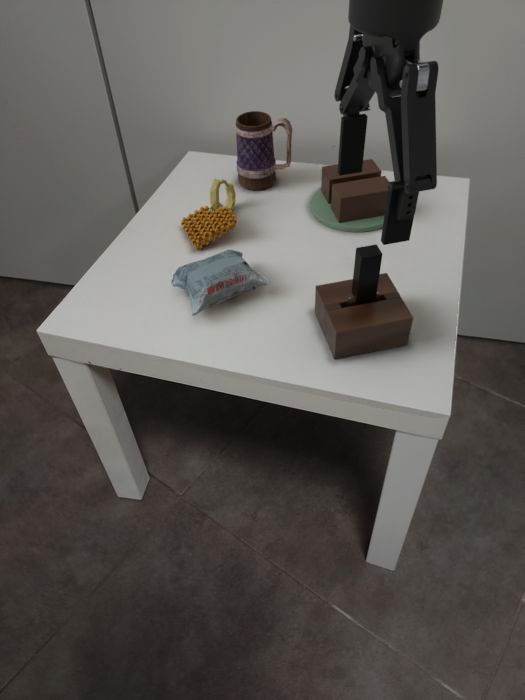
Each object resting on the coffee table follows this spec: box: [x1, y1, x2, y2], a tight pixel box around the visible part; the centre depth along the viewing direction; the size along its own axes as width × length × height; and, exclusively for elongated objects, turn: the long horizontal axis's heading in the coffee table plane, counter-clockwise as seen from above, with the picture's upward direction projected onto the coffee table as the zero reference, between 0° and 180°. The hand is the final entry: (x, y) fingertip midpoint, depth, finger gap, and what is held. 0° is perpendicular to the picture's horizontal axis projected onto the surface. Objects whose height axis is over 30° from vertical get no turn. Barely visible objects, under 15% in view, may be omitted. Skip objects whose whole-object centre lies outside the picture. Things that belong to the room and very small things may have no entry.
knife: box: [347, 244, 383, 307], centre depth 69 cm, size 2×4×13 cm, turn 102°
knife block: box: [314, 272, 414, 360], centre depth 71 cm, size 9×10×5 cm
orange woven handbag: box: [180, 178, 238, 250], centre depth 89 cm, size 7×10×15 cm
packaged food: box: [171, 249, 270, 317], centre depth 78 cm, size 9×12×5 cm
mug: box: [235, 110, 293, 191], centre depth 95 cm, size 10×7×12 cm
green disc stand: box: [310, 158, 390, 233], centre depth 91 cm, size 15×15×5 cm
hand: (370, 204), depth 58 cm, fingers open, 13 cm apart
